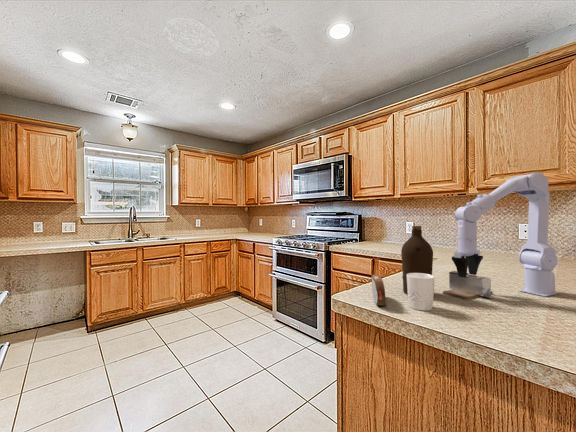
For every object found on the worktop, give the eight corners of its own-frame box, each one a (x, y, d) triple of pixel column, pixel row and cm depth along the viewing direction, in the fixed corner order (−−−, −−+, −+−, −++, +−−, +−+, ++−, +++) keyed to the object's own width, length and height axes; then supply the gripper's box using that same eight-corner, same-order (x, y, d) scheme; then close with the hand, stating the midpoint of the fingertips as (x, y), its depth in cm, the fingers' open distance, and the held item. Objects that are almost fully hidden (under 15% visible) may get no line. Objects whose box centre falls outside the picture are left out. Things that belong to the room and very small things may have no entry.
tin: (386, 309, 81) (386, 282, 81) (375, 309, 82) (375, 281, 82) (379, 295, 96) (379, 272, 96) (370, 294, 97) (370, 271, 97)
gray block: (454, 287, 103) (454, 270, 103) (492, 295, 92) (492, 277, 92) (449, 288, 101) (449, 271, 101) (488, 297, 90) (488, 278, 90)
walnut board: (469, 288, 104) (469, 286, 104) (492, 293, 97) (492, 291, 97) (442, 293, 97) (442, 291, 97) (465, 299, 90) (465, 297, 90)
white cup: (432, 304, 86) (431, 273, 86) (437, 312, 78) (436, 279, 78) (405, 302, 88) (405, 272, 88) (408, 310, 81) (407, 277, 81)
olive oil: (440, 296, 94) (439, 226, 94) (413, 298, 92) (412, 226, 92) (420, 288, 104) (420, 225, 104) (395, 290, 102) (395, 225, 102)
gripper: (469, 240, 90) (469, 280, 90) (489, 238, 97) (489, 275, 97) (447, 239, 96) (448, 276, 96) (468, 237, 104) (468, 271, 103)
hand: (467, 275), depth 97 cm, fingers open, 7 cm apart
